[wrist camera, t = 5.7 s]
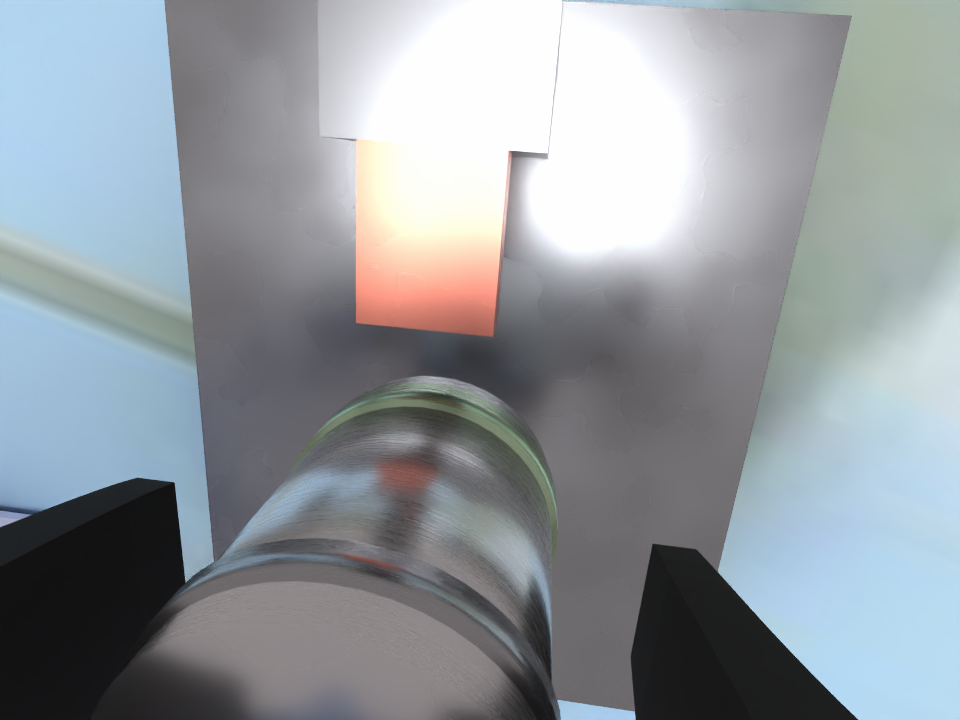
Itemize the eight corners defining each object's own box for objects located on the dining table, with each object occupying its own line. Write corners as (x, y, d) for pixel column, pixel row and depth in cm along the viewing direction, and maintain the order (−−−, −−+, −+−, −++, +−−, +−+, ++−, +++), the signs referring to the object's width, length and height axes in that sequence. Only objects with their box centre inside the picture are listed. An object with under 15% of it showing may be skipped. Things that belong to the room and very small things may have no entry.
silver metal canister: (318, 570, 12) (108, 933, 6) (313, 357, 10) (36, 580, 5) (543, 602, 12) (536, 1017, 6) (570, 385, 10) (598, 662, 4)
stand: (245, 613, 20) (90, 841, 13) (202, -1, 14) (-115, -154, 7) (671, 676, 18) (740, 961, 12) (817, 32, 13) (1111, -116, 6)
